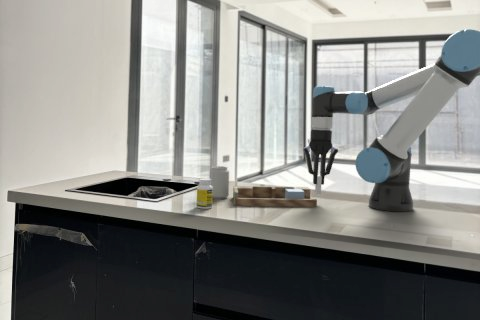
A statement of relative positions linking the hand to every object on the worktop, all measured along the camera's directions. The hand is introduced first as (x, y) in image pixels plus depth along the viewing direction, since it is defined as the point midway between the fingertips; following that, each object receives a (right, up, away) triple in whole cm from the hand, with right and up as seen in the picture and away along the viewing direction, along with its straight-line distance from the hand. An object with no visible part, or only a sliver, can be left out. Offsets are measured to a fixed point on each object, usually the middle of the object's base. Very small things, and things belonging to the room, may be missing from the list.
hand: (317, 193), depth 155 cm
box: (-17, -3, +1) cm, 17 cm away
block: (-9, -4, 0) cm, 10 cm away
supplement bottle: (-41, -4, -12) cm, 43 cm away
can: (-37, -2, +8) cm, 38 cm away
